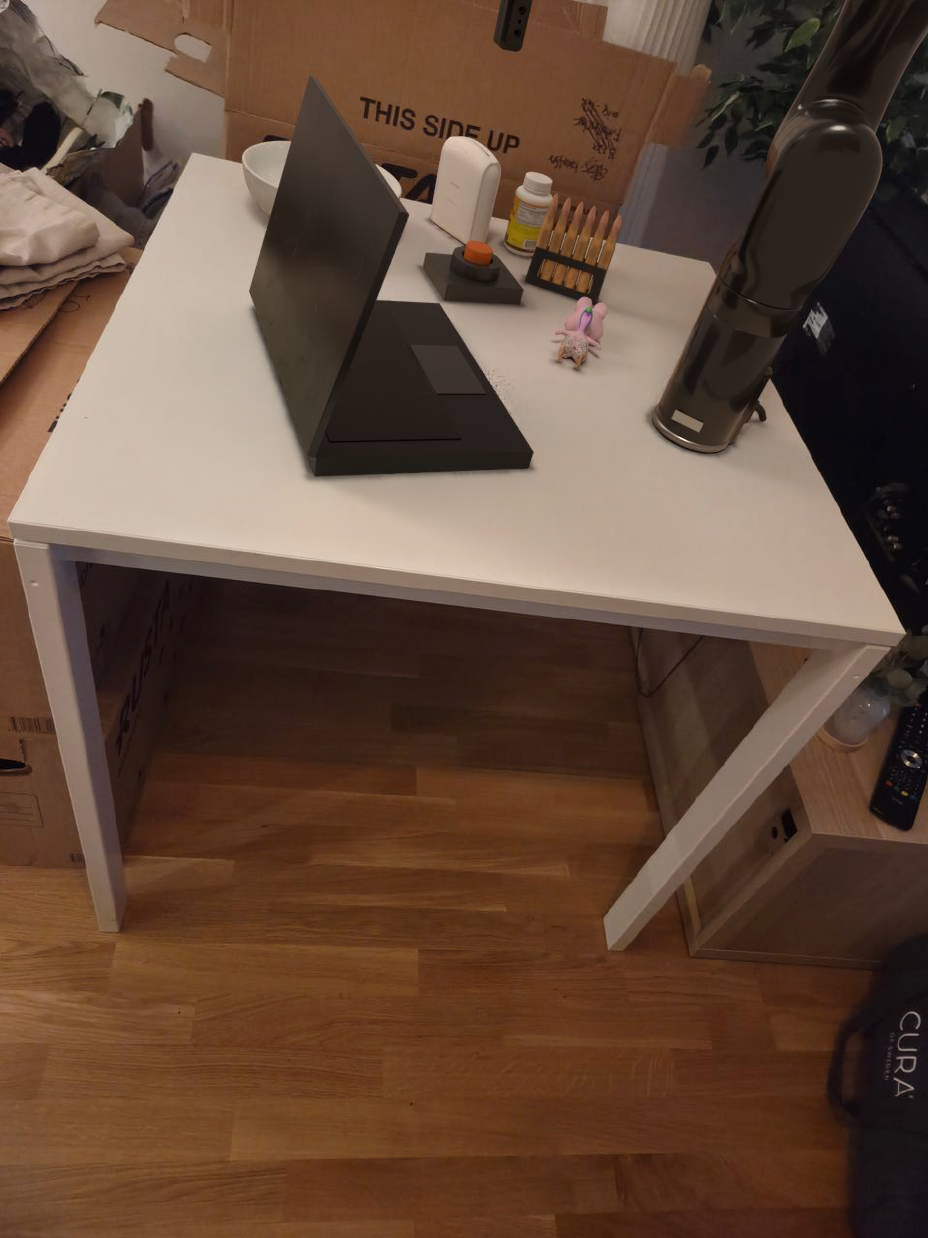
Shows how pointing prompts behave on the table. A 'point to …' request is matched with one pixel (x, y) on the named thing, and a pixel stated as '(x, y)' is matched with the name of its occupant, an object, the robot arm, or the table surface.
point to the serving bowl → (278, 172)
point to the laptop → (417, 402)
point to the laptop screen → (323, 260)
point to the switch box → (471, 279)
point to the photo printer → (465, 189)
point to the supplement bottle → (528, 214)
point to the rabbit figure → (582, 330)
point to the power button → (478, 252)
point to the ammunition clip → (567, 256)
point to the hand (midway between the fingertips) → (506, 47)
